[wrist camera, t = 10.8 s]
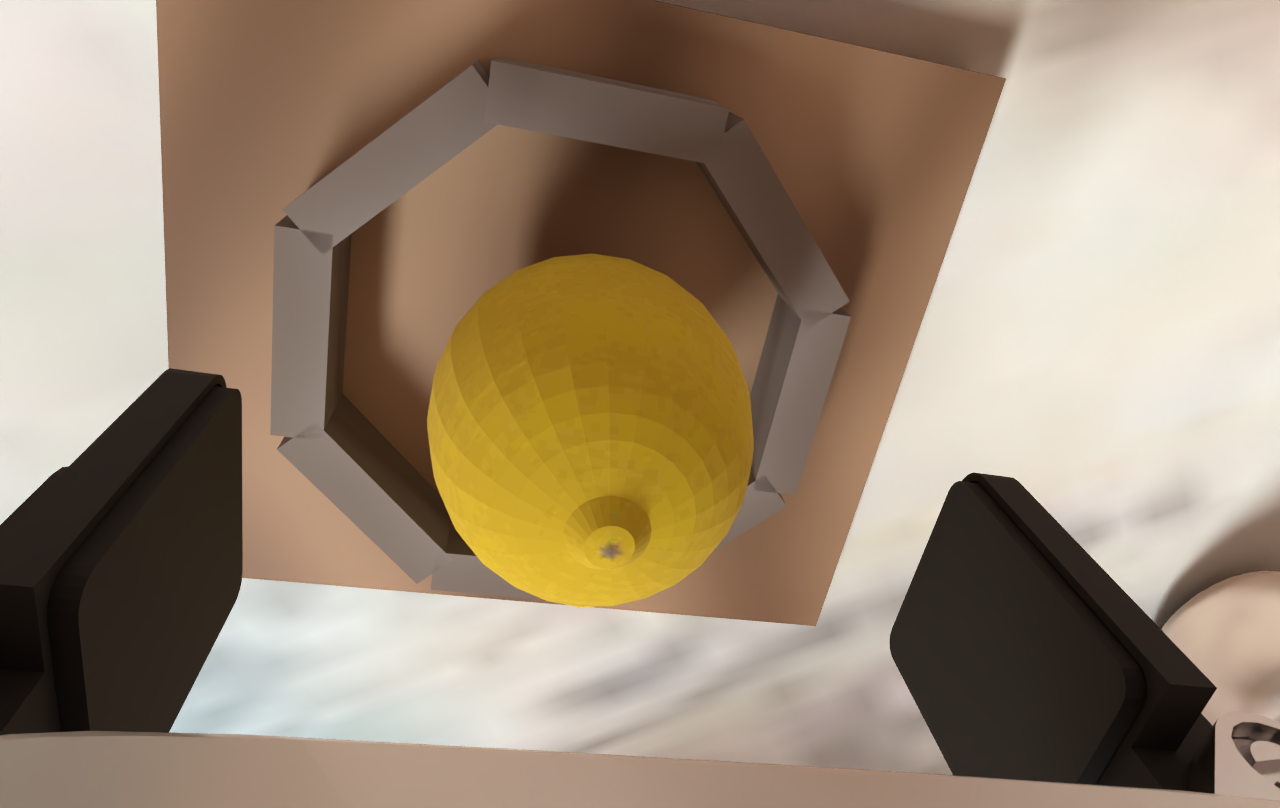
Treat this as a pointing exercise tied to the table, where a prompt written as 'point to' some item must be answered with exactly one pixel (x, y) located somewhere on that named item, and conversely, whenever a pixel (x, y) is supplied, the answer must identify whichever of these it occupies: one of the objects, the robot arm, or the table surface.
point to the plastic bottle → (1234, 642)
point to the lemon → (590, 430)
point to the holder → (543, 249)
